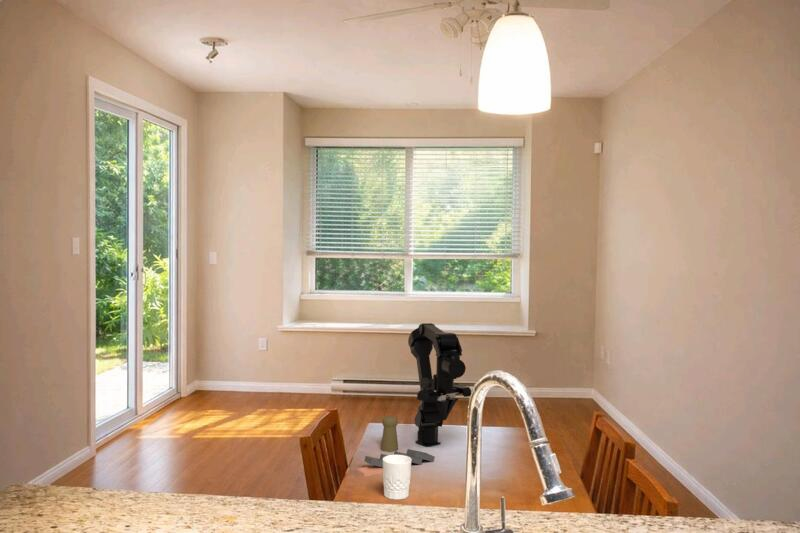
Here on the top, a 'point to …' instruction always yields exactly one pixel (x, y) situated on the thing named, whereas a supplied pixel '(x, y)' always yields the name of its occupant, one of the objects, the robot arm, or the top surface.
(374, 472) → the terracotta domino
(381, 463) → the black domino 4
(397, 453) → the grey domino
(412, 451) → the gray rectangular block
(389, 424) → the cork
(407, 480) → the white cup
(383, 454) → the grey rectangular block
